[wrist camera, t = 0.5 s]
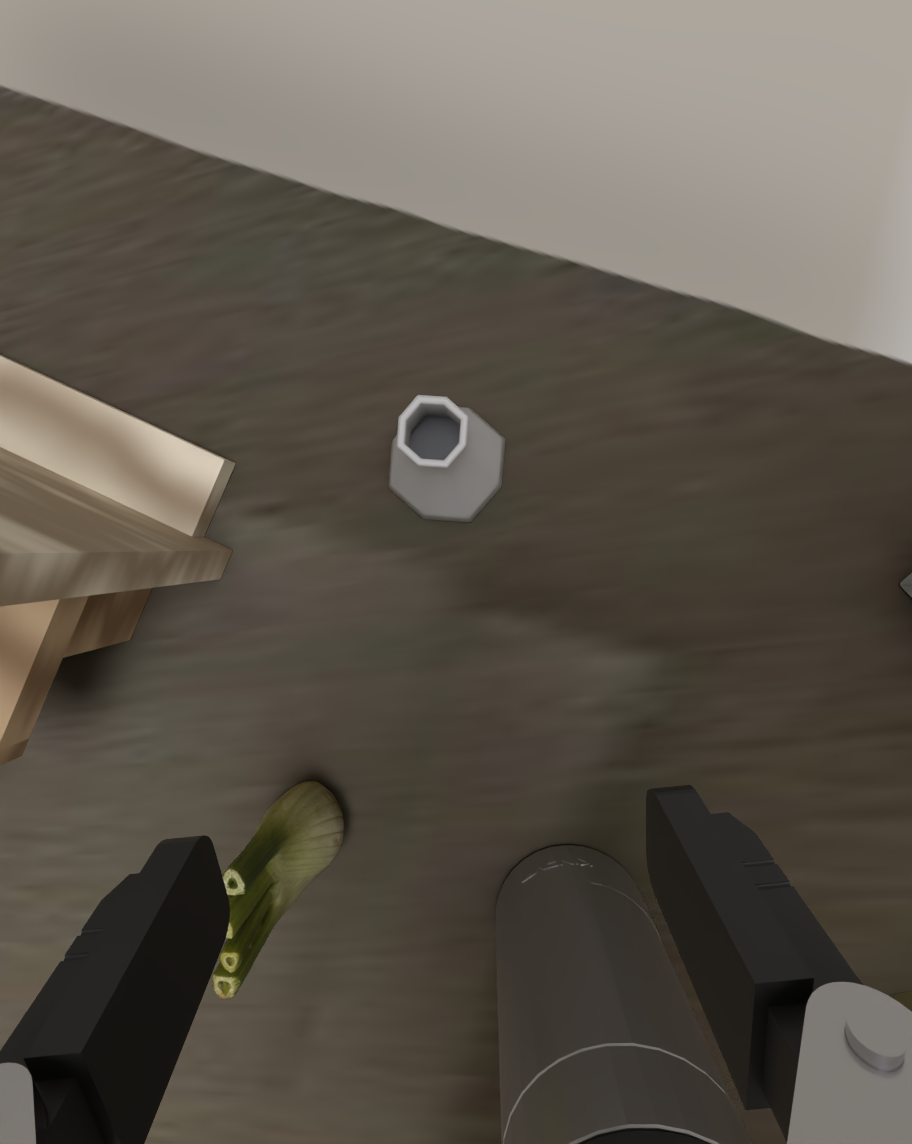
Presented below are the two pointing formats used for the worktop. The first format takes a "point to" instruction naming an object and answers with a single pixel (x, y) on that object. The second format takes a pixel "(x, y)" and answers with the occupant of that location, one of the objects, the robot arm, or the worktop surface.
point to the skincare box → (907, 585)
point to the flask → (445, 460)
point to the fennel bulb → (275, 874)
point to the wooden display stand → (88, 531)
